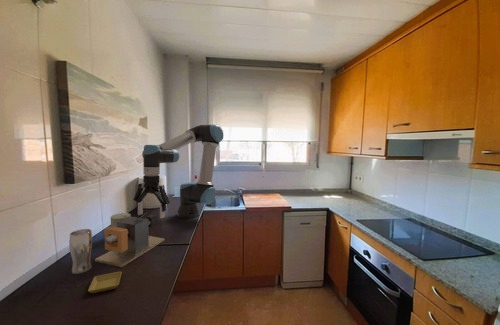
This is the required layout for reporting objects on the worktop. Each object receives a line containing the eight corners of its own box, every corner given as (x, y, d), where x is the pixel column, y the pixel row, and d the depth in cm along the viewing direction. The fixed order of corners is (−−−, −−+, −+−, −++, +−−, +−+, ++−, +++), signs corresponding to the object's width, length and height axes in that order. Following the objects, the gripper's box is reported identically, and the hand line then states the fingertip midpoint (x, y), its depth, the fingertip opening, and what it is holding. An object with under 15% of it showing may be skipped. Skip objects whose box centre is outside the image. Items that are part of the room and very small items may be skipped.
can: (121, 241, 107) (121, 218, 107) (106, 239, 109) (105, 216, 108) (134, 234, 116) (134, 212, 116) (120, 232, 118) (120, 211, 117)
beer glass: (74, 266, 85) (72, 229, 84) (95, 263, 88) (94, 227, 86) (67, 276, 78) (65, 237, 77) (90, 272, 81) (89, 234, 80)
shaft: (152, 223, 113) (152, 214, 112) (156, 224, 112) (156, 215, 112) (104, 245, 87) (104, 234, 87) (110, 247, 86) (110, 235, 86)
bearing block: (142, 236, 114) (142, 210, 113) (164, 240, 110) (164, 214, 109) (94, 261, 89) (94, 228, 88) (121, 267, 85) (121, 233, 84)
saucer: (87, 297, 69) (87, 291, 69) (94, 281, 77) (94, 275, 77) (118, 290, 72) (118, 284, 72) (122, 276, 80) (122, 270, 80)
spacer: (111, 246, 93) (110, 226, 93) (127, 249, 91) (127, 229, 90) (104, 249, 90) (104, 228, 90) (121, 252, 88) (121, 231, 87)
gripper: (125, 174, 108) (125, 215, 110) (167, 177, 102) (167, 221, 103) (137, 172, 116) (137, 211, 117) (177, 176, 109) (176, 216, 110)
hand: (151, 215), depth 110 cm, fingers open, 13 cm apart
